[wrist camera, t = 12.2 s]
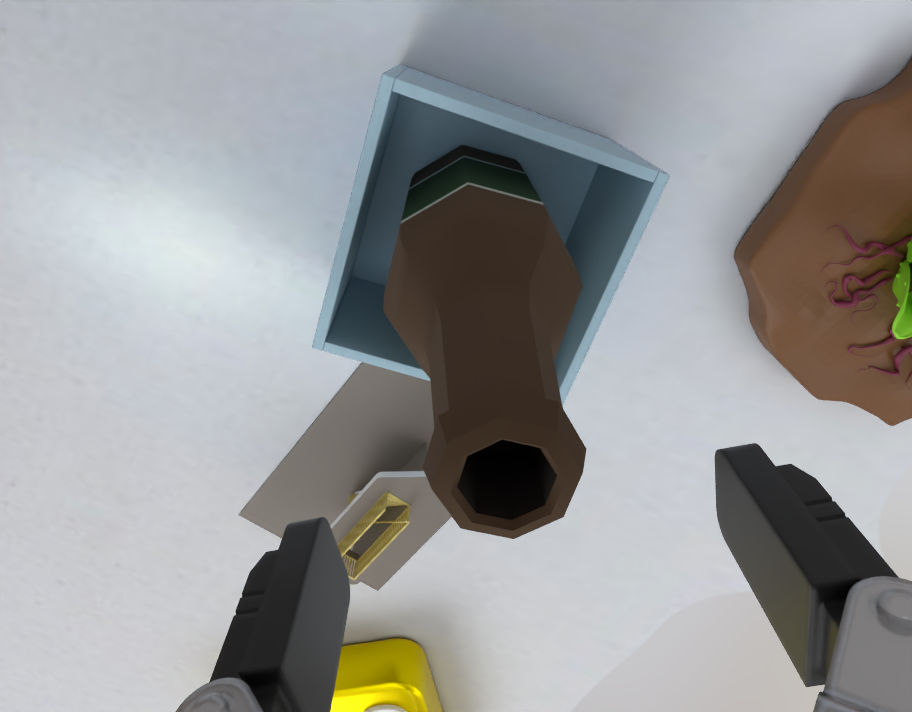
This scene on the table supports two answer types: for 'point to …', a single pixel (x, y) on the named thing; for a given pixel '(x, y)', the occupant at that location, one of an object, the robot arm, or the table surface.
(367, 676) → the element tile
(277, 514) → the platform
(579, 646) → the table surface
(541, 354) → the beer bottle
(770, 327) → the plant
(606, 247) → the case
